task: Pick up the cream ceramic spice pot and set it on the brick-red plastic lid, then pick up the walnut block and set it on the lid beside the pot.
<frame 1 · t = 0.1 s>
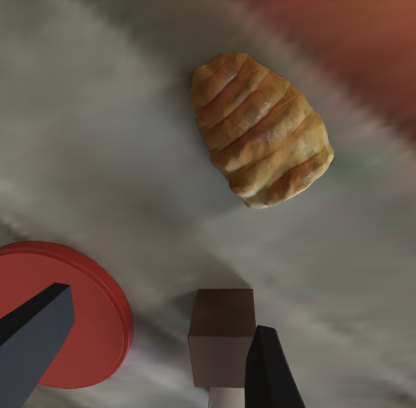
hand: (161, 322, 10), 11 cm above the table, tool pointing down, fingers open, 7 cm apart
spice pot: (233, 390, 25), on the table
pastry: (256, 137, 18), on the table
red lid: (53, 315, 25), on the table
walnut block: (227, 311, 23), on the table
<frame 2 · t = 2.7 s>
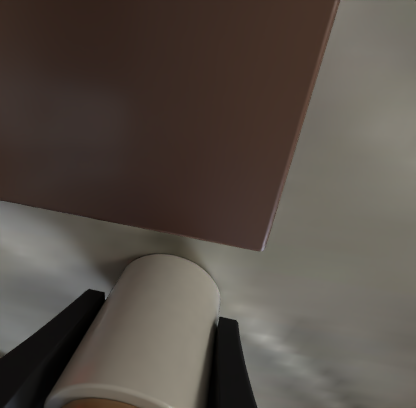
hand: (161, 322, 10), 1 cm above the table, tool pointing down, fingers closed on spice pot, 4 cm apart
spice pot: (169, 294, 12), on the table, touching gripper
walnut block: (194, 62, 7), on the table
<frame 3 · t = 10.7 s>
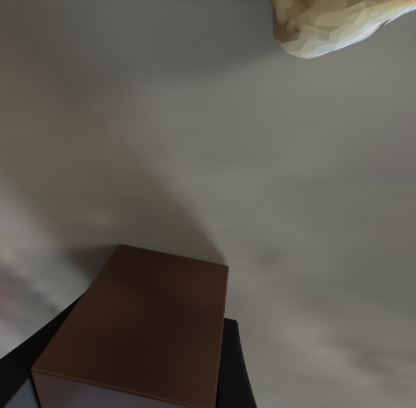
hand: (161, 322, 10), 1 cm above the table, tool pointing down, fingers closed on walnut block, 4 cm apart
walnut block: (169, 294, 12), on the table, touching gripper
when the fingers open (3 cm above the table, at t = 15.1 s): walnut block stays where it is, resting on red lid.
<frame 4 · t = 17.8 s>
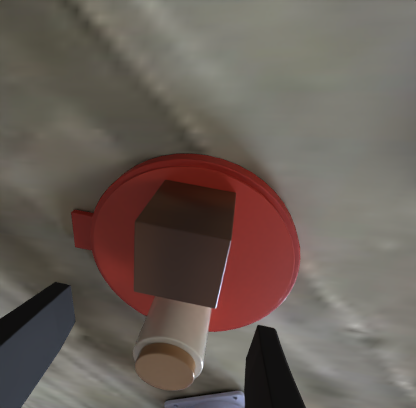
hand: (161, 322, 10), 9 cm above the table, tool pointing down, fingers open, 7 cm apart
spice pot: (184, 298, 21), point 1 cm above the table, touching red lid
red lid: (193, 250, 20), on the table, touching spice pot, walnut block
walnut block: (196, 216, 17), point 1 cm above the table, touching red lid
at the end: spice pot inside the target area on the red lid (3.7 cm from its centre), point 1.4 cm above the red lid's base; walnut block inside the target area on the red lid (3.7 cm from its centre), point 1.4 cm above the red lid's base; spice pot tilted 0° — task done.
